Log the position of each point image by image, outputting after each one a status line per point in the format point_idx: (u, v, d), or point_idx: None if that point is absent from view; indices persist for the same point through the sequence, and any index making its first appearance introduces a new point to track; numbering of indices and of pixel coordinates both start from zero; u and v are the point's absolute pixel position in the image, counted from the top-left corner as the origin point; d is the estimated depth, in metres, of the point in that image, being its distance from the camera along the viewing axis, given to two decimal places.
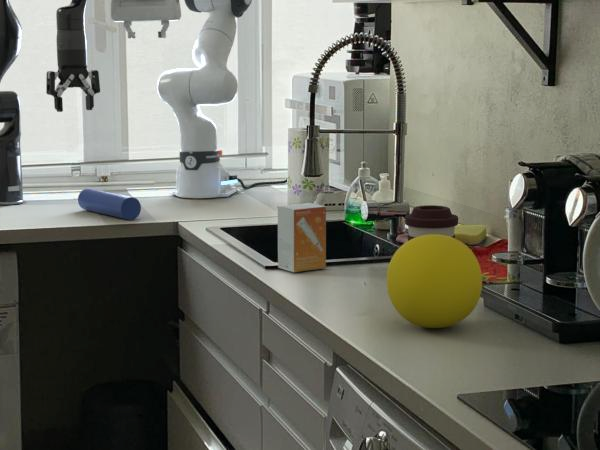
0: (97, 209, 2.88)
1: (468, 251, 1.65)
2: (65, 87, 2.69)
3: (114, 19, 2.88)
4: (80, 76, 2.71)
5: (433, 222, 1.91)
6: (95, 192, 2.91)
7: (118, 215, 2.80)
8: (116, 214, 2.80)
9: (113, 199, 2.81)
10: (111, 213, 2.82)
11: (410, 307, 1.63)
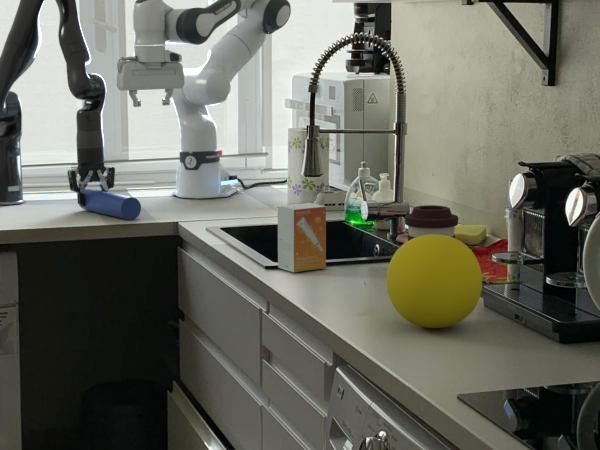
0: (97, 209, 2.88)
1: (468, 251, 1.65)
2: (84, 182, 2.91)
3: None
4: (98, 171, 2.93)
5: (433, 222, 1.91)
6: (95, 192, 2.91)
7: (118, 215, 2.80)
8: (116, 214, 2.80)
9: (113, 199, 2.81)
10: (111, 213, 2.82)
11: (410, 307, 1.63)
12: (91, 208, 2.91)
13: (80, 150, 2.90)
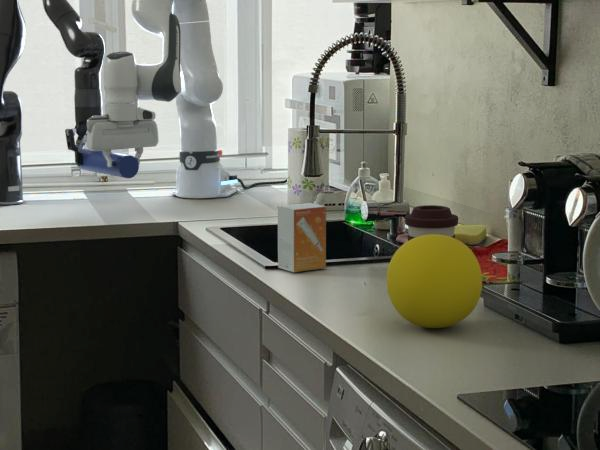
0: (95, 168, 2.86)
1: (468, 251, 1.65)
2: (82, 141, 2.89)
3: None
4: None
5: (433, 222, 1.91)
6: (93, 151, 2.89)
7: (116, 173, 2.78)
8: (114, 172, 2.79)
9: (111, 157, 2.79)
10: (109, 172, 2.81)
11: (410, 307, 1.63)
12: (89, 167, 2.89)
13: (78, 109, 2.88)
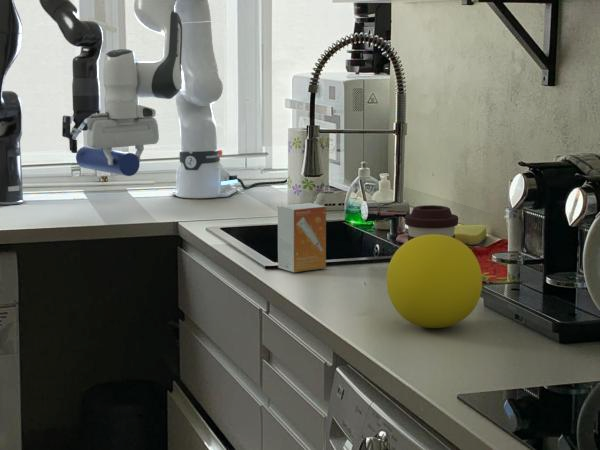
0: (95, 166, 2.86)
1: (468, 251, 1.65)
2: (80, 130, 2.89)
3: None
4: None
5: (433, 222, 1.91)
6: (93, 149, 2.89)
7: (116, 171, 2.78)
8: (114, 170, 2.79)
9: (112, 155, 2.79)
10: (109, 169, 2.81)
11: (410, 307, 1.63)
12: (89, 165, 2.89)
13: (76, 97, 2.88)
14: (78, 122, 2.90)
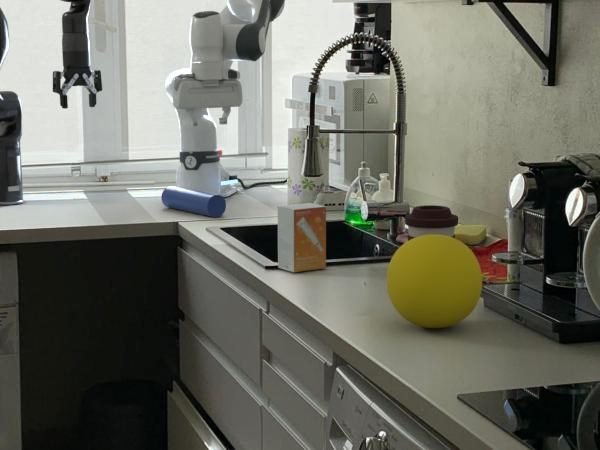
0: (181, 206, 2.91)
1: (468, 251, 1.65)
2: (70, 86, 2.91)
3: None
4: (84, 75, 2.93)
5: (433, 222, 1.91)
6: (179, 189, 2.94)
7: (204, 212, 2.83)
8: (202, 211, 2.83)
9: (199, 197, 2.84)
10: (196, 210, 2.86)
11: (410, 307, 1.63)
12: (175, 205, 2.94)
13: (65, 53, 2.90)
14: (68, 77, 2.91)
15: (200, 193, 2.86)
